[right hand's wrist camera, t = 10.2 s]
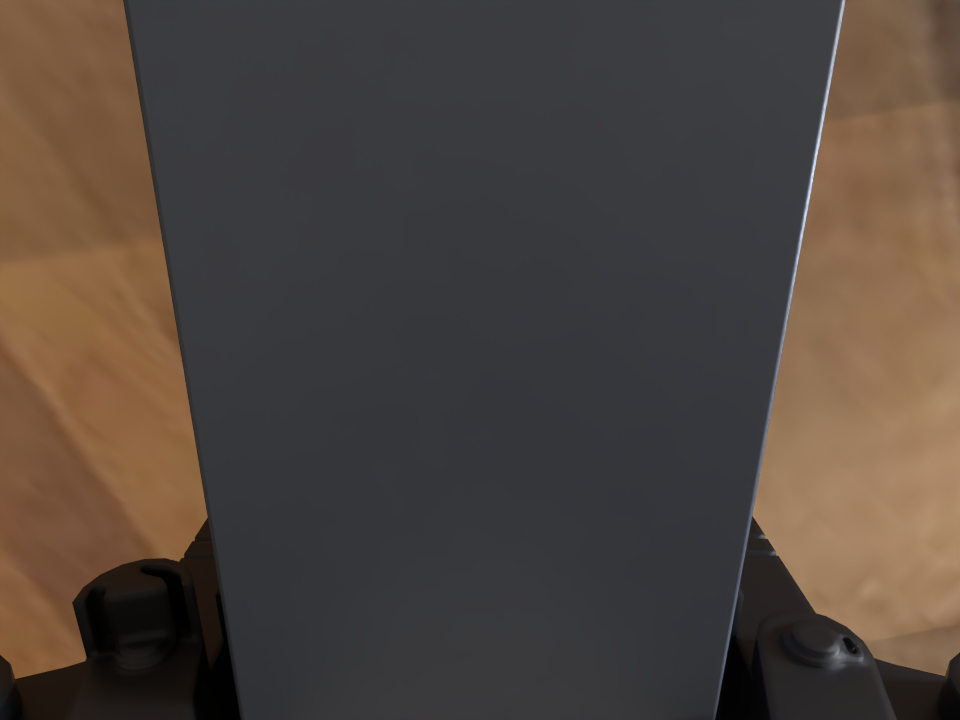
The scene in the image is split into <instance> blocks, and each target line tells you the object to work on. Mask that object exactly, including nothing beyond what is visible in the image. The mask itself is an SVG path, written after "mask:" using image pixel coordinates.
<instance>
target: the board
mask: <svg viewBox="0 0 960 720" xmlns="http://www.w3.org/2000/svg"><path fill="white" fill-rule="evenodd" d="M123 1H124V7H125V13H126V19H127V26H128V32H129V38H130V44H131V50H132V56H133V62H134V68H135V75H136V81H137V87H138V93H139V99H140V105H141V111H142V117H143V123H144V130H145V136H146V142H147V148H148V154H149V160H150V166H151V172H152V179H153V185H154V191H155V197H156V203H157V209H158V215H159V221H160V228H161V234H162V240H163V246H164V252H165V258H166V264H167V270H168V276H169V283H170V289H171V295H172V301H173V307H174V313H175V319H176V325H177V332H178V338H179V344H180V350H181V356H182V362H183V368H184V374H185V381H186V387H187V393H188V399H189V405H190V411H191V417H192V423H193V429H194V436H195V442H196V448H197V454H198V460H199V466H200V472H201V478H202V485H203V491H204V497H205V503H206V509H207V515H208V521H209V527H210V534H211V540H212V546H213V552H214V558H215V564H216V570H217V576H218V582H219V589H220V595H221V601H222V607H223V613H224V619H225V625H226V631H227V638H228V644H229V650H230V656H231V662H232V668H233V674H234V680H235V687H236V693H237V699H238V705H239V711H240V717H241V720H715V717H716V712H717V706H718V701H719V695H720V690H721V684H722V679H723V673H724V668H725V662H726V657H727V651H728V646H729V640H730V635H731V629H732V624H733V618H734V613H735V607H736V602H737V596H738V591H739V585H740V580H741V574H742V569H743V563H744V558H745V552H746V547H747V541H748V536H749V530H750V525H751V519H752V514H753V508H754V503H755V497H756V492H757V486H758V481H759V475H760V470H761V464H762V459H763V453H764V448H765V442H766V436H767V431H768V425H769V420H770V414H771V409H772V403H773V398H774V392H775V387H776V381H777V376H778V370H779V365H780V359H781V354H782V348H783V343H784V337H785V332H786V326H787V321H788V315H789V310H790V304H791V299H792V293H793V288H794V282H795V277H796V271H797V266H798V260H799V255H800V249H801V244H802V238H803V233H804V227H805V222H806V216H807V211H808V205H809V200H810V194H811V189H812V183H813V178H814V172H815V167H816V161H817V156H818V150H819V145H820V139H821V133H822V128H823V122H824V117H825V111H826V106H827V100H828V95H829V89H830V84H831V78H832V73H833V67H834V62H835V56H836V51H837V45H838V40H839V34H840V29H841V23H842V18H843V12H844V7H845V1H846V0H123Z"/></svg>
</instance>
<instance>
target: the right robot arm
mask: <svg viewBox="0 0 960 720" xmlns="http://www.w3.org/2000/svg"><path fill="white" fill-rule="evenodd" d="M72 603H73V607H74V611H75V615H76V618H77V622H78V626H79V630H80V633H81V637H82V641H83V645H84V648H85V652H86V656H87V659H86V661H85V662H81V663H78V664H75V665H72V666H68V667H65V668H61V669H56V670H52V671H48V672H44V673H39V674H35V675H31V676H27V677H22V678H18V679H15V677H14V674H13V671H12V667H11V664H10V663H9V662H7V661H6V660H5V659H4V658H3V657H2V656H1V655H0V720H241V717H240V711H239V705H238V699H237V693H236V687H235V680H234V674H233V668H232V662H231V656H230V650H229V644H228V638H227V631H226V625H225V619H224V613H223V607H222V601H221V595H220V589H219V582H218V576H217V570H216V564H215V558H214V552H213V546H212V540H211V534H210V527H209V521H208V518H207V520H206V521H205V523H204V524H203V526H202V527H201V529H200V530H199V532H198V534H197V535H196V537H195V541H192V543H191V544H190V546H189V547H188V549H187V551H186V552H185V554H184V558H181V560H180V561H179V562H177V561H174V560H170V559H166V558H162V559H143V560H139V561H135V562H131V563H127V564H123V565H120V566H118V567H116V568H114V569H112V570H110V571H107V572H105V573H103V574H101V575H99V576H98V577H97V578H95V579H94V580H93V581H91V582H90V583H89V584H87V585H86V586H85V587H83V589H82V590H81V591H80V593H79V594H78V595H77V597H76V598H75V599H74V601H73V602H72ZM715 720H960V653H959V654H957V655H956V656H955V657H954V658H953V659H952V660H951V661H950V662H949V665H948V669H947V672H946V675H945V676H941V675H937V674H932V673H928V672H924V671H920V670H915V669H911V668H907V667H903V666H898V665H894V664H891V663H887V662H884V661H881V660H878V659H875V658H873V656H872V654H871V653H870V651H869V649H868V648H867V646H866V645H865V643H864V642H863V640H861V639H860V638H859V637H858V636H857V635H855V634H854V633H853V632H852V631H851V630H850V629H848V628H847V627H846V626H844V625H842V624H840V623H838V622H836V621H834V620H832V619H830V618H828V617H826V616H823V615H820V614H816V613H815V611H814V610H813V608H812V607H811V605H810V604H809V602H808V601H807V599H806V598H805V596H804V594H803V593H802V591H801V590H800V588H799V587H798V585H797V584H796V582H795V581H794V579H793V578H792V576H791V575H790V573H789V571H788V570H787V568H786V567H785V565H784V564H783V562H782V561H781V559H780V558H779V556H776V551H775V550H774V548H773V547H772V545H771V544H770V542H769V541H768V539H765V535H764V533H763V531H762V530H761V528H760V527H759V525H758V524H757V522H756V521H755V519H754V518H753V516H752V519H751V525H750V530H749V536H748V541H747V547H746V552H745V558H744V563H743V569H742V574H741V580H740V585H739V591H738V596H737V602H736V607H735V613H734V618H733V624H732V629H731V635H730V640H729V646H728V651H727V657H726V662H725V668H724V673H723V679H722V684H721V690H720V695H719V701H718V706H717V712H716V717H715Z"/></svg>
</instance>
